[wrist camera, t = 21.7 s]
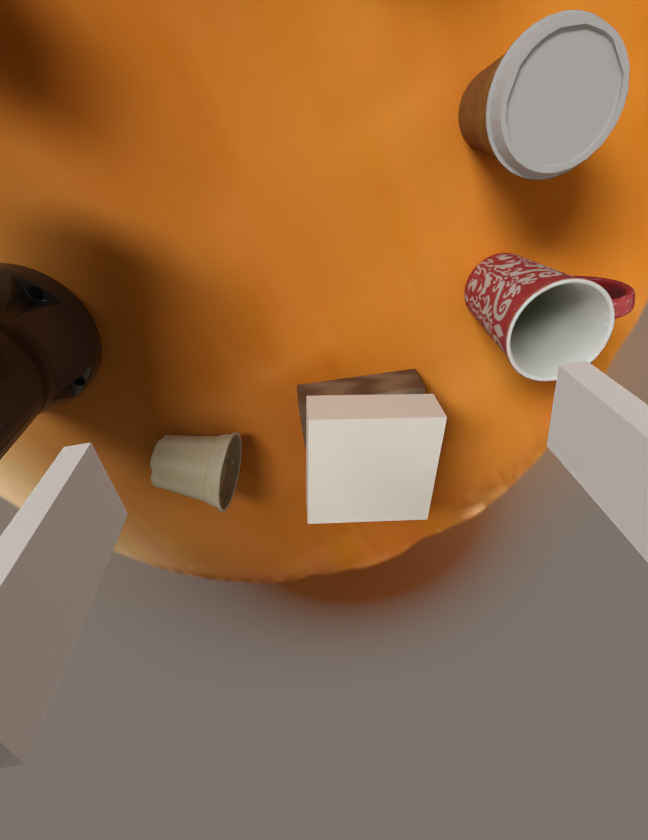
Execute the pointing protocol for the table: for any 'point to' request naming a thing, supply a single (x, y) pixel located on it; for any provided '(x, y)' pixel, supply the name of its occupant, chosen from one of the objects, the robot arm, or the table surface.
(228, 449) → the flower pot
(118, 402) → the table surface
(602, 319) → the mug
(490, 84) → the disposable coffee cup
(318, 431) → the tower top
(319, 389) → the tower base
